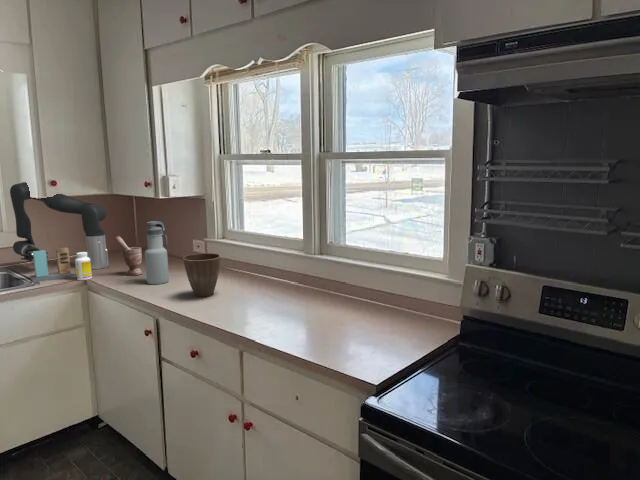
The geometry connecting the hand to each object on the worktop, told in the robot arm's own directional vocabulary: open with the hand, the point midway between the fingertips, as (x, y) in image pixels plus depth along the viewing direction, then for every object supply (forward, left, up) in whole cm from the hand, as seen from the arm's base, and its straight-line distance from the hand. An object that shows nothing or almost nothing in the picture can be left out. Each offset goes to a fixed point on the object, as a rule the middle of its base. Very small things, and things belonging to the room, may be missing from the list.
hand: (38, 259), depth 256 cm
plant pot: (-47, +93, -8) cm, 105 cm away
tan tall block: (-9, +13, -6) cm, 17 cm away
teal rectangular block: (+1, +13, -6) cm, 15 cm away
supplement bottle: (-15, +27, -8) cm, 32 cm away
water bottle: (-40, +58, -8) cm, 71 cm away
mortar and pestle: (-35, +34, -8) cm, 50 cm away
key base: (-4, +13, -8) cm, 16 cm away
